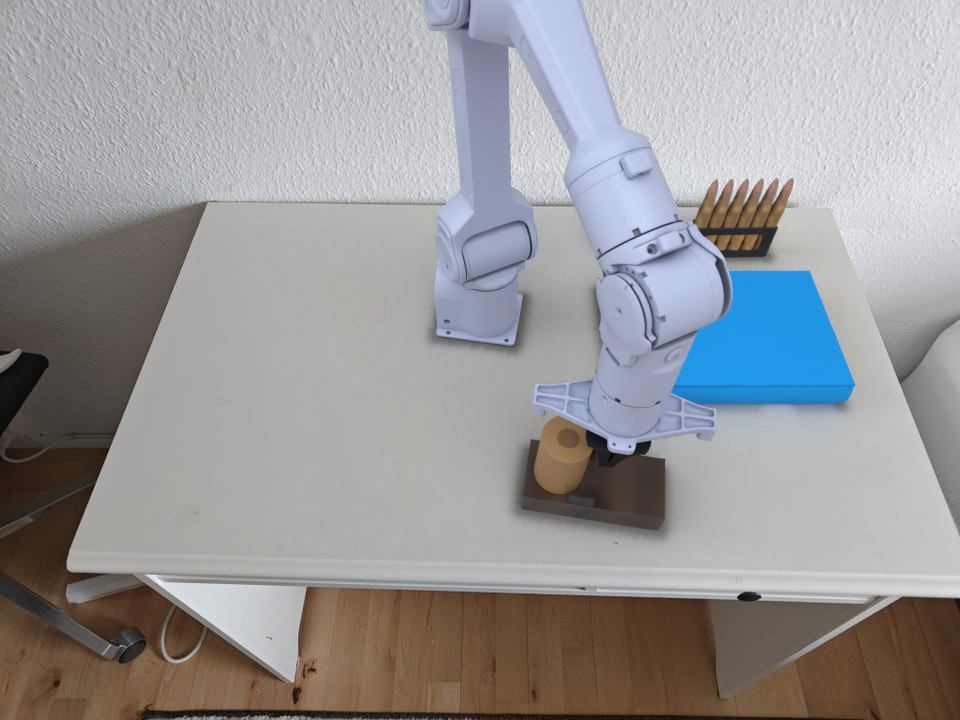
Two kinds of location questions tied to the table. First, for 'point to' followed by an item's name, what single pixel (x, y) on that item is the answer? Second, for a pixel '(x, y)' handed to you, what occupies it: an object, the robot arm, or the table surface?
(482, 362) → the table surface
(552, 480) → the towel roll
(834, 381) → the book
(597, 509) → the stand
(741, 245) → the ammunition clip
